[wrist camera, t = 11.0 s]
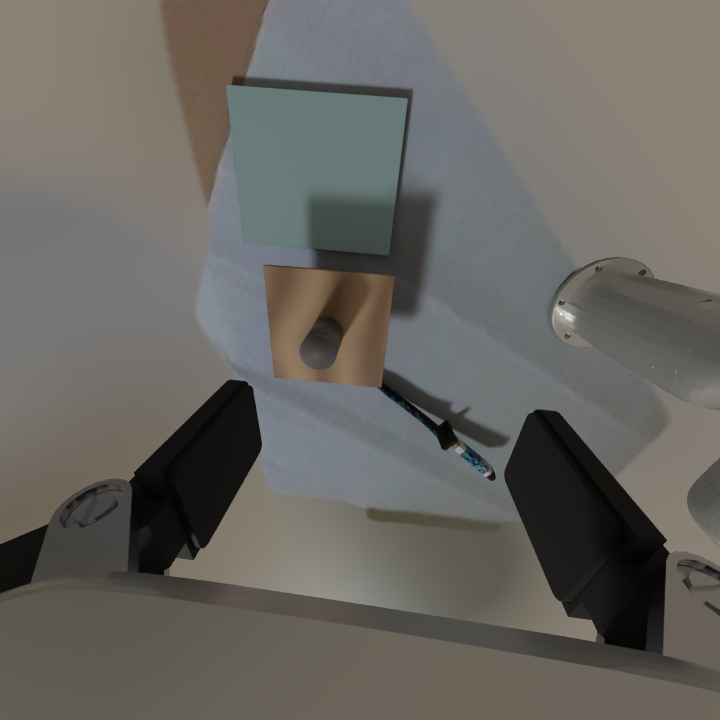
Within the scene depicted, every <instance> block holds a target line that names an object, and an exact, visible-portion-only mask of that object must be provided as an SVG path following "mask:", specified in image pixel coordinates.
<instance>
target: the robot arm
mask: <svg viewBox="0 0 720 720" xmlns="http://www.w3.org/2000/svg"><path fill="white" fill-rule="evenodd" d="M549 320H550V325H551V327H552V330H553V332H554V333H555V334H556V335H557V336H558V337H559V338H560V339H561V340H563V341H564V342H566V343H568V344H570V345H573V346H576V347H584V348H588V347H596V348H597V349H599V350H601V351H602V352H604V353H605V354H607V355H609V356H610V357H612V358H613V359H615V360H617V361H618V362H620V363H621V364H623V365H625V366H626V367H628V368H629V369H631V370H633V371H634V372H636V373H637V374H639V375H641V376H642V377H644V378H646V379H647V380H649V381H650V382H652V383H654V384H655V385H657V386H658V387H660V388H662V389H663V390H665V391H667V392H668V393H670V394H672V395H673V396H675V397H677V398H679V399H680V400H683V401H685V402H687V403H690V404H692V405H695V406H700V407H703V408H707V409H713V410H720V294H718V293H713V292H709V291H704V290H700V289H696V288H691V287H688V286H683V285H679V284H675V283H670V282H666V281H662V280H658V279H654V276H653V274H652V273H651V271H650V269H649V268H648V267H646V266H645V265H644V264H643V263H641V262H638V261H636V260H633V259H628V258H619V257H614V258H606V259H602V260H598V261H595V262H593V263H591V264H588V265H586V266H584V267H583V268H581V269H579V270H578V271H576V272H575V273H574V274H573V275H571V276H570V277H569V278H568V279H567V280H566V281H565V282H564V283H563V284H562V286H561V287H560V288H559V290H558V291H557V293H556V294H555V296H554V299H553V301H552V303H551V307H550V313H549ZM261 447H262V441H261V435H260V429H259V423H258V417H257V410H256V404H255V398H254V392H253V388H252V386H249V385H248V383H247V382H246V381H239V380H228V381H227V382H226V383H225V384H224V385H223V386H222V387H221V388H220V389H219V390H217V391H216V393H214V394H213V395H212V396H211V397H210V398H209V399H208V400H207V401H206V402H205V403H204V404H203V405H202V406H201V407H200V408H199V409H198V410H197V411H196V412H195V413H194V414H193V415H192V416H191V417H190V418H189V419H188V420H187V421H186V422H185V423H184V424H183V425H182V426H181V427H180V428H179V429H178V430H177V431H176V432H175V433H174V434H173V435H172V436H171V437H170V438H169V439H168V440H167V441H166V442H165V443H164V444H163V445H162V446H161V447H159V448H158V449H157V451H155V452H154V453H153V454H152V455H151V456H150V457H149V458H148V459H147V460H146V461H145V462H144V463H143V464H142V465H141V466H140V467H139V468H138V469H137V470H136V471H135V472H134V474H135V476H134V477H133V478H132V479H131V480H130V481H129V482H127V481H126V480H123V479H107V480H104V481H100V482H96V483H94V484H92V485H90V486H87V487H85V488H84V489H82V490H80V491H78V492H76V493H75V494H73V495H72V496H71V497H69V498H68V499H67V500H66V501H64V502H63V503H62V504H61V505H60V506H59V508H58V509H57V510H56V511H55V512H54V514H53V516H52V518H51V520H50V522H49V524H48V525H45V526H43V527H40V528H38V529H35V530H33V531H31V532H29V533H26V534H24V535H21V536H19V537H17V538H14V539H12V540H9V541H7V542H5V543H3V544H0V720H720V566H718V565H716V564H715V563H713V562H711V561H709V560H706V559H704V558H702V557H700V556H698V555H695V554H691V553H688V552H678V551H676V552H674V553H671V554H670V553H669V552H668V551H667V549H666V548H665V547H664V546H663V544H664V543H665V542H666V541H667V540H666V538H664V536H663V535H662V534H661V533H660V532H659V530H658V529H657V528H656V527H655V525H654V524H653V523H652V522H651V521H650V520H649V518H648V517H647V516H646V515H645V514H644V513H643V511H642V510H641V509H640V508H639V507H638V505H637V504H636V503H635V502H634V501H633V500H632V498H631V497H630V496H629V495H628V494H627V492H626V491H625V490H624V489H623V488H622V487H621V486H620V484H619V483H618V482H617V481H616V479H615V478H614V477H613V476H612V475H611V474H610V472H609V471H608V470H607V469H606V468H605V466H604V465H603V464H602V463H601V462H600V461H599V459H598V458H597V457H596V456H595V455H594V453H593V452H592V451H591V450H590V449H589V448H588V446H587V445H586V444H585V443H584V442H583V440H582V439H581V438H580V437H579V436H578V435H577V433H576V432H575V431H574V430H573V429H572V427H571V426H570V425H569V424H568V423H567V422H566V420H565V419H564V418H563V417H562V416H561V414H560V413H558V412H556V411H549V410H539V409H537V410H535V411H534V412H533V413H530V414H528V416H527V418H526V420H525V422H524V425H523V427H522V430H521V432H520V435H519V437H518V439H517V442H516V444H515V447H514V449H513V452H512V454H511V457H510V459H509V461H508V464H507V466H506V469H505V473H504V477H505V481H506V484H507V486H508V489H509V491H510V493H511V496H512V498H513V501H514V503H515V505H516V508H517V510H518V512H519V515H520V517H521V519H522V522H523V524H524V526H525V529H526V531H527V533H528V536H529V538H530V541H531V543H532V545H533V548H534V550H535V553H536V555H537V557H538V560H539V562H540V564H541V567H542V569H543V571H544V574H545V576H546V578H547V581H548V583H549V586H550V588H551V590H552V592H553V594H554V596H555V597H556V599H558V600H559V601H561V602H562V604H563V606H564V608H565V611H566V613H567V615H568V617H575V618H581V619H588V620H591V619H592V621H593V623H594V625H595V627H596V629H597V637H596V642H591V641H586V640H581V639H575V638H569V637H564V636H558V635H551V634H545V633H539V632H533V631H526V630H521V629H514V628H508V627H502V626H495V625H489V624H483V623H477V622H471V621H465V620H458V619H452V618H446V617H440V616H433V615H426V614H420V613H414V612H408V611H401V610H394V609H388V608H382V607H376V606H369V605H363V604H356V603H350V602H343V601H337V600H330V599H324V598H317V597H311V596H304V595H297V594H291V593H284V592H278V591H271V590H264V589H258V588H251V587H244V586H237V585H231V584H224V583H217V582H211V581H202V580H195V579H187V578H179V577H172V576H170V572H169V568H170V566H171V565H172V563H173V562H174V560H175V558H182V559H190V560H194V558H195V557H196V555H197V553H198V551H199V550H200V548H204V547H206V546H207V544H208V543H209V541H210V539H211V538H212V536H213V534H214V532H215V531H216V529H217V527H218V525H219V524H220V522H221V520H222V518H223V517H224V515H225V513H226V511H227V510H228V508H229V506H230V504H231V502H232V501H233V499H234V497H235V495H236V494H237V492H238V490H239V488H240V486H241V485H242V483H243V481H244V479H245V478H246V476H247V474H248V472H249V471H250V469H251V467H252V465H253V464H254V462H255V460H256V458H257V457H258V455H259V453H260V451H261ZM687 505H688V509H689V512H690V513H691V516H692V517H693V519H694V521H695V522H696V523H697V525H698V526H699V527H700V528H701V530H702V531H703V532H704V533H705V534H706V535H707V536H708V537H709V538H710V539H711V540H712V541H713V542H714V543H715V544H716V545H718V546H719V547H720V458H719V459H718V460H717V461H716V462H715V463H714V464H712V465H711V466H710V467H709V468H708V470H706V472H704V473H703V474H702V475H701V476H700V477H699V478H698V479H697V480H696V482H695V483H694V484H693V485H692V487H691V488H690V490H689V492H688V496H687Z"/></svg>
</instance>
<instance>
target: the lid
mask: <svg viewBox="0 0 720 720" xmlns="http://www.w3.org/2000/svg"><path fill="white" fill-rule="evenodd" d="M263 268H264V278H265V288H266V298H267V308H268V319H269V329H270V339H271V349H272V360H273V370H274V378H285V379H295V380H306V381H316V382H327V383H337V384H348V385H358V386H369V387H379V388H381V386H382V378H383V370H384V361H385V353H386V345H387V336H388V328H389V319H390V311H391V303H392V294H393V286H394V278H395V275H390V274H377V273H365V272H352V271H340V270H327V269H315V268H302V267H290V266H277V265H264V266H263Z"/></svg>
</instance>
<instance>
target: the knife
mask: <svg viewBox="0 0 720 720" xmlns="http://www.w3.org/2000/svg"><path fill="white" fill-rule="evenodd" d="M378 388H379V387H378ZM379 389H380V390H381V391H382V392H383V393H384V394H385V395H387V396H388V397H389V398H390V399H392V400H393V401H394V402H396V403H397V404H398V405H400V406H401V407H402V408H404V409H405V410H406V411H408V412H409V413H410V414H412V415H413V416H414V417H415V418H417V419H418V420H419V421H420V422H422V423H423V424H424V425H425V426H426V427H427V428H428V429H429V430H430V431H431V432H432V433H433V434H434V435H435V436H436V437H437V438H438V440H439V443H440V445H441V448H442V449H443V450H447V449H448V448H450V447H452V448H453V449H454V450H455V451H456V452H457V453H459V454H460V455H461V456H462V457H463V458H464V459H466V460H467V461H468V462H469V463H470V464H471V465H472V466H474V467H475V468H476V469H477V470H478V471H479V472H481V473H482V474H483V475H484V476H485V477H487V478H488V479H489V480H491V481H494V480H495V479H496V477H495V472H494V471H493V469H492V467H491V466H490V464H489V463H488V462H487V461H486V460H485V459H483V458H482V457H481V456H480V455H478V454H477V453H476V452H475V451H474V450H472V449H471V448H470V447H469V446H468V445H466V444H465V443H464V442H463V441H461V440H460V439H459V438H458V437H457V436H455V434H454V432H453V430H452V428H451V426H450V424H449V422H447V421H445V422H444V423H442V424H441V425H440V426H438V425H437V424H436V423H435V422H433V421H432V420H431V419H430V418H429V417H427V416H426V415H425V414H423V413H422V412H421V411H420V410H418V409H417V408H416V407H415V406H413V405H412V404H411V403H409V402H408V401H407V400H406V399H404V398H403V397H401V396H400V395H399V394H397V393H396V392H395V391H393V390H392V389H391V388H389V387H388V386H386V385H385V384H384V383H382V386H381V388H379Z"/></svg>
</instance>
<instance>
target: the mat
mask: <svg viewBox="0 0 720 720" xmlns="http://www.w3.org/2000/svg"><path fill="white" fill-rule="evenodd" d="M226 89H227V98H228V107H229V116H230V125H231V133H232V142H233V151H234V160H235V169H236V178H237V187H238V196H239V205H240V214H241V223H242V232H243V240H244V242H247V243H258V244H269V245H280V246H290V247H301V248H312V249H323V250H334V251H345V252H356V253H366V254H377V255H388V256H389V252H390V244H391V235H392V227H393V219H394V210H395V202H396V194H397V185H398V177H399V169H400V160H401V152H402V143H403V135H404V127H405V118H406V110H407V102H408V98H396V97H382V96H369V95H355V94H342V93H329V92H315V91H302V90H288V89H275V88H261V87H248V86H235V85H226Z"/></svg>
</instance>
